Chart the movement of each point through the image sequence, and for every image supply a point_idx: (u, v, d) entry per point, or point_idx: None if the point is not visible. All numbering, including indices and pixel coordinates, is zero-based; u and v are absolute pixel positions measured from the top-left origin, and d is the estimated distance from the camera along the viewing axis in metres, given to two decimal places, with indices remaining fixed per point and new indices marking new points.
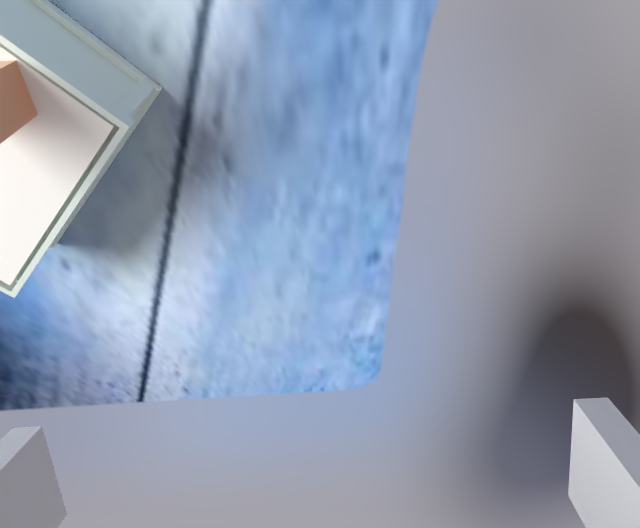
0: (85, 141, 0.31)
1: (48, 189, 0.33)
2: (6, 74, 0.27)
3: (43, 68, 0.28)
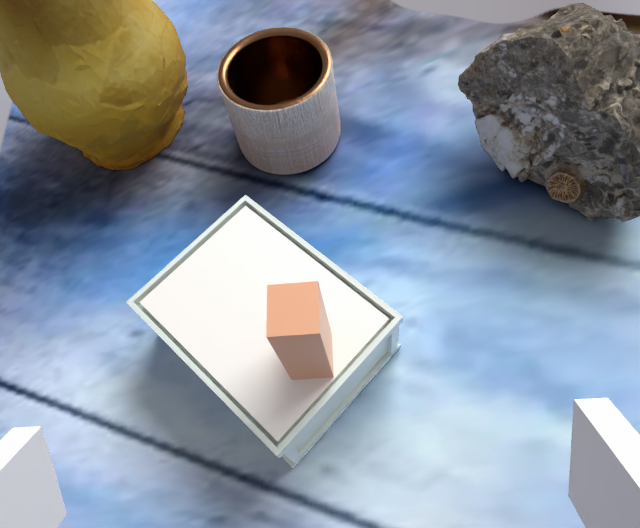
0: (266, 412, 0.36)
1: (227, 367, 0.38)
2: (326, 372, 0.36)
3: (327, 397, 0.36)
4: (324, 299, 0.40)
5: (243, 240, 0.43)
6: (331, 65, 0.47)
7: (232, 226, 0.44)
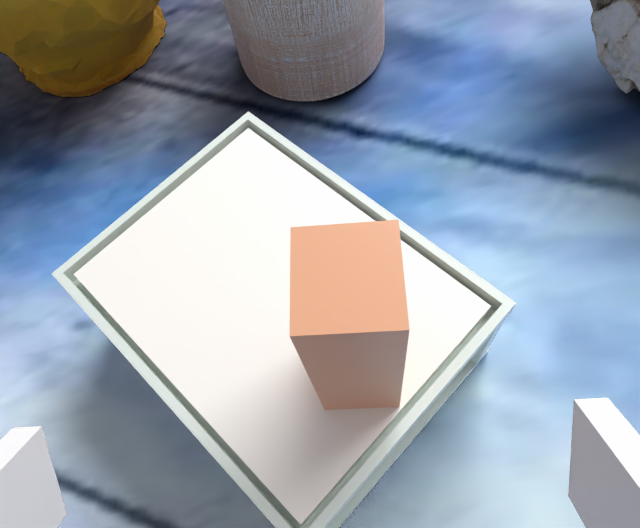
0: (280, 469, 0.20)
1: (213, 385, 0.22)
2: (390, 399, 0.20)
3: (390, 444, 0.20)
4: None
5: (244, 179, 0.27)
6: None
7: (227, 158, 0.28)
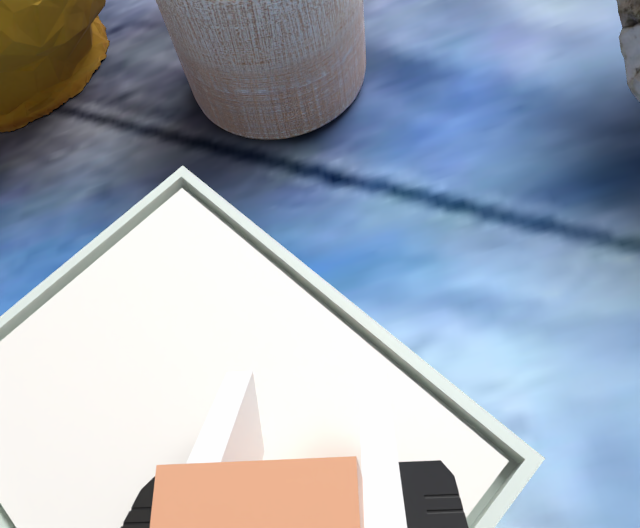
0: None
1: None
2: None
3: None
4: (348, 404, 0.17)
5: (172, 260, 0.20)
6: None
7: (151, 230, 0.21)
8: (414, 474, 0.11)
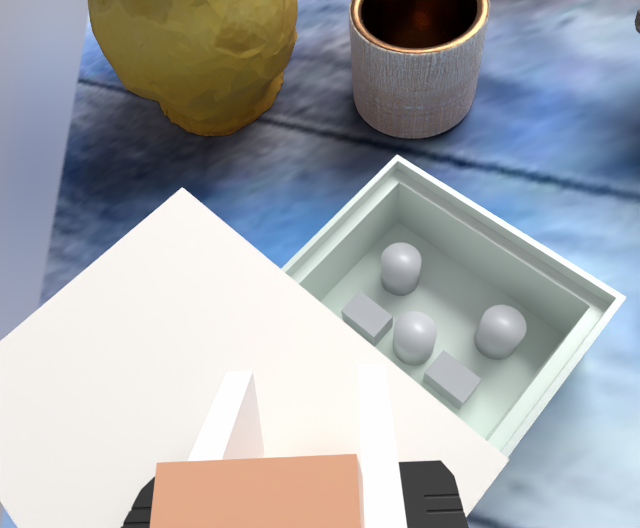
0: None
1: None
2: None
3: (547, 398, 0.29)
4: (349, 403, 0.17)
5: (172, 260, 0.20)
6: (489, 2, 0.40)
7: (152, 229, 0.21)
8: (414, 474, 0.11)
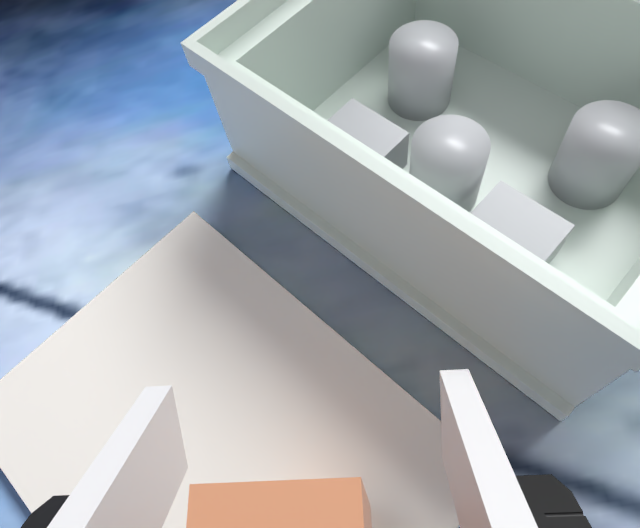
0: None
1: None
2: None
3: None
4: (351, 418, 0.18)
5: (185, 281, 0.21)
6: None
7: (165, 252, 0.22)
8: (527, 490, 0.10)
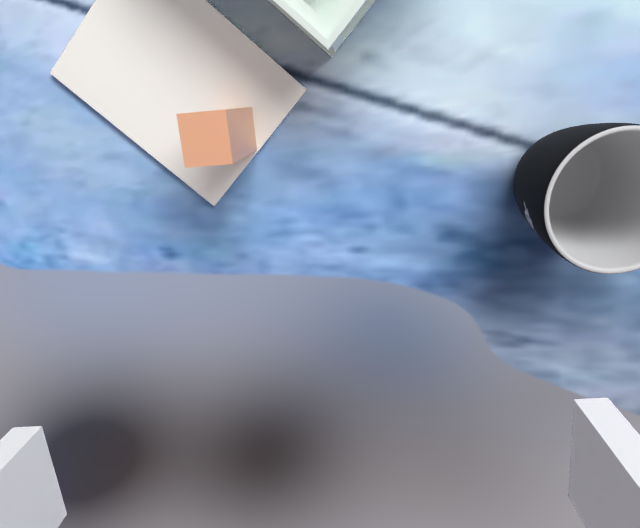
0: (201, 182, 0.42)
1: (157, 142, 0.41)
2: None
3: None
4: (241, 68, 0.39)
5: None
6: None
7: None
8: None
